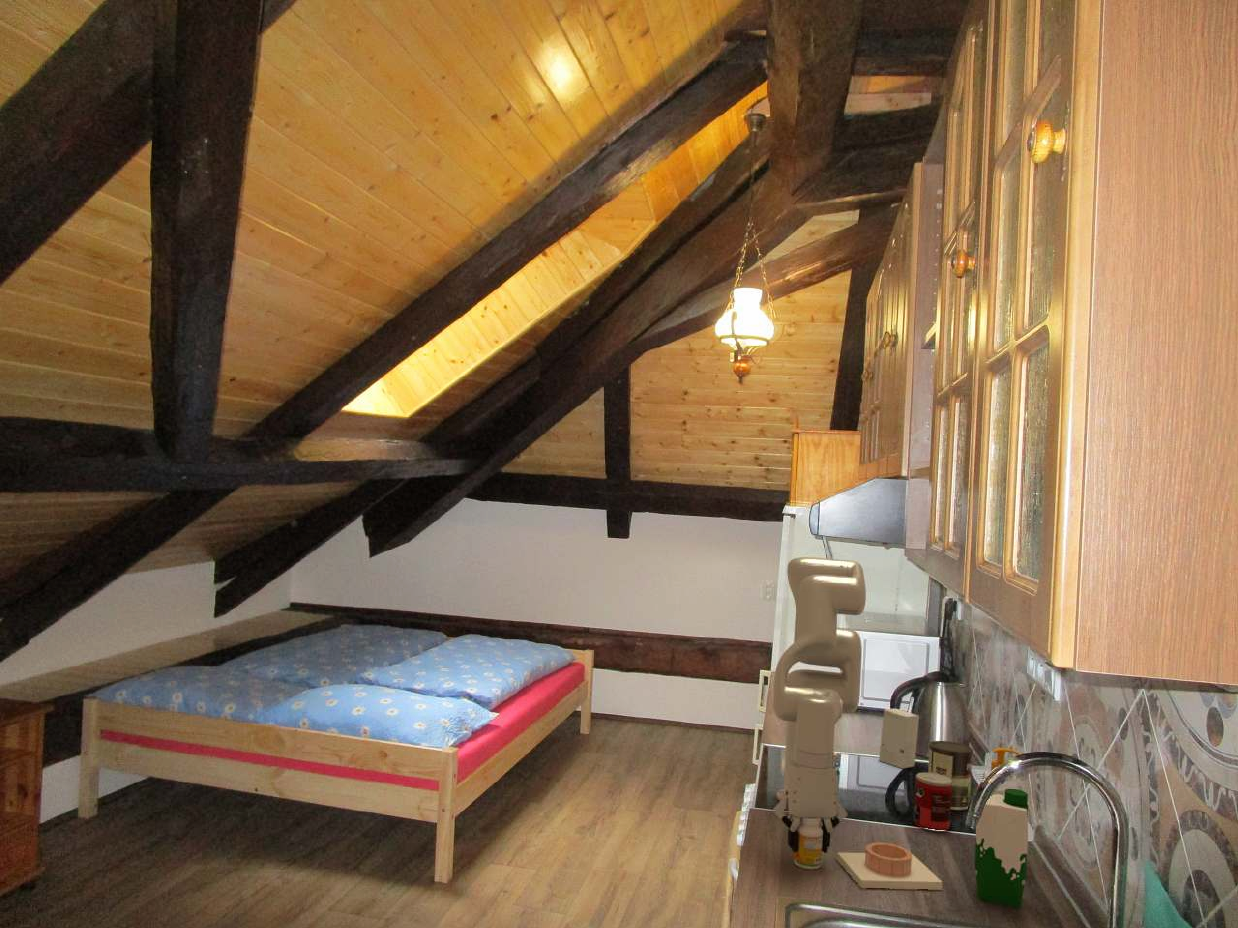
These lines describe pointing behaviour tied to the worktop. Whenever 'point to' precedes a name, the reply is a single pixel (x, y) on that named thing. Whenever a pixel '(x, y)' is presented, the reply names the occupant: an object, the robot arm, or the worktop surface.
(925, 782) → the canned food
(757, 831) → the worktop surface
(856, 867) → the coaster board
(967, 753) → the coffee can
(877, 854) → the bottle collar
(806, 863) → the supplement bottle
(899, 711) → the skincare box
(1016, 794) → the milk carton
